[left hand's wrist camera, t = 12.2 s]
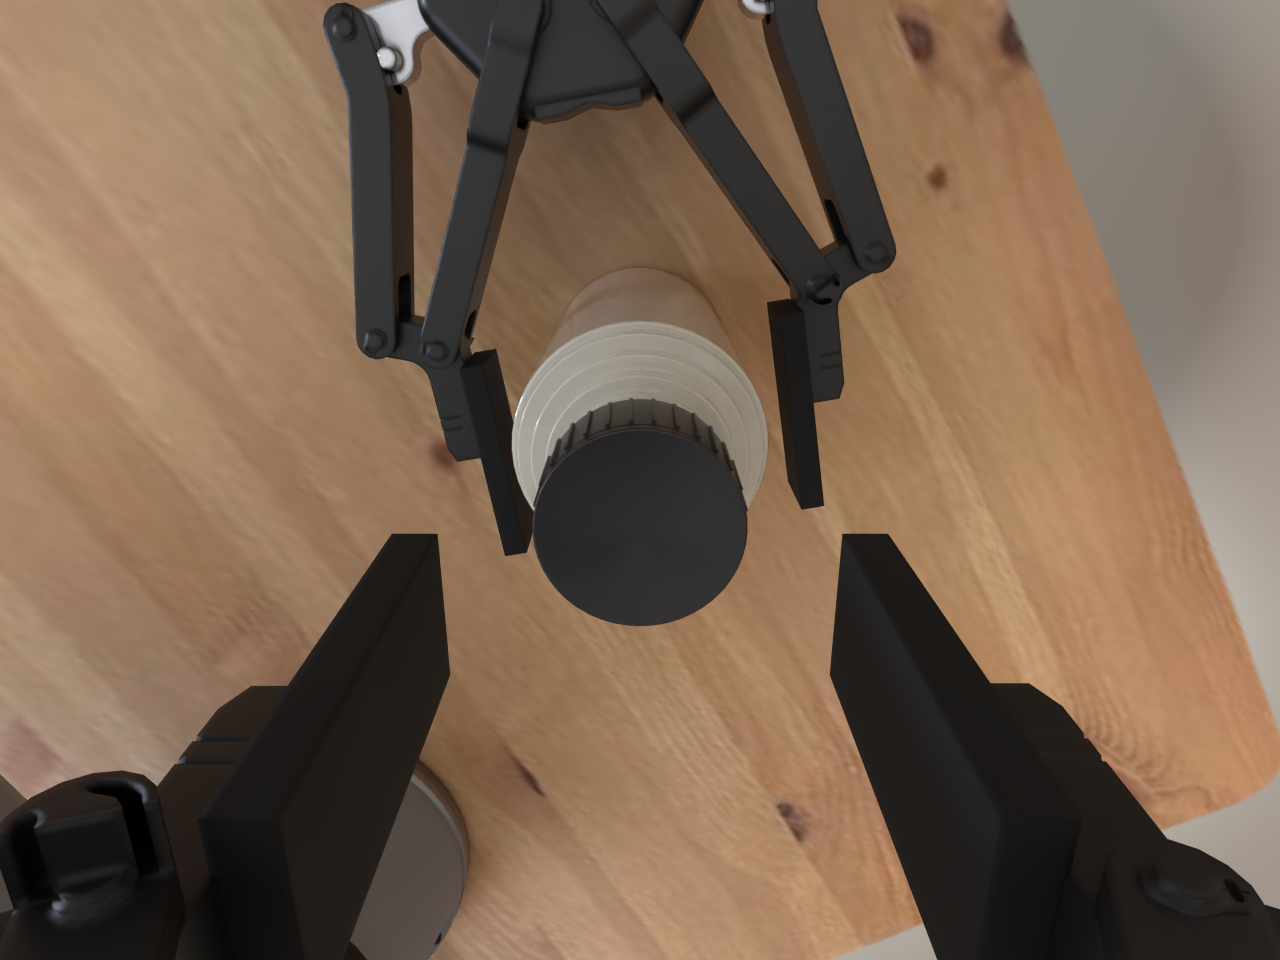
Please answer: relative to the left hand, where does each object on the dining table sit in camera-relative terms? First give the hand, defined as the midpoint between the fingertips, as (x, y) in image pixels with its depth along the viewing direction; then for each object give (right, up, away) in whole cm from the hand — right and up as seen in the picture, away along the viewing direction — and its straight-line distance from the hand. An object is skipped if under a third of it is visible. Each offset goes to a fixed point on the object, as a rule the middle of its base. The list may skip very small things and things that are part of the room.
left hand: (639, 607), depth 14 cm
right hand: (+1, +1, +15) cm, 15 cm away
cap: (0, +1, +3) cm, 4 cm away
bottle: (0, +7, +20) cm, 21 cm away
